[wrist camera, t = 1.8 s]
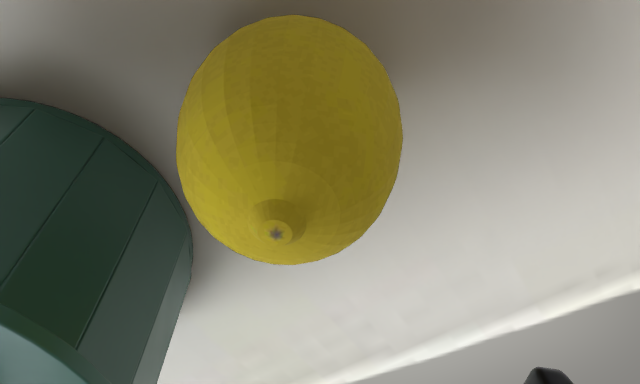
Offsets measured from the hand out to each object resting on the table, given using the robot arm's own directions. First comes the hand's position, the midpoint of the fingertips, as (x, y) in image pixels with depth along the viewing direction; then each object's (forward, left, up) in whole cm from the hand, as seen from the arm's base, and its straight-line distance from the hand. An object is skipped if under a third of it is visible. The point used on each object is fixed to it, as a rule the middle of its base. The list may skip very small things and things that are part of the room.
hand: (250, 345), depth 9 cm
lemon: (0, 0, -11) cm, 11 cm away
